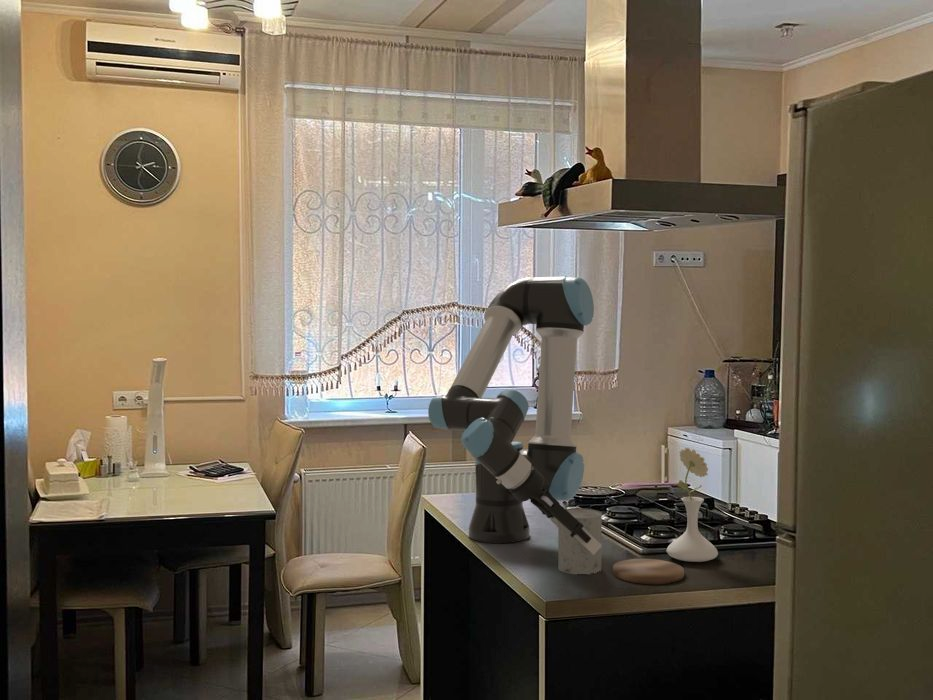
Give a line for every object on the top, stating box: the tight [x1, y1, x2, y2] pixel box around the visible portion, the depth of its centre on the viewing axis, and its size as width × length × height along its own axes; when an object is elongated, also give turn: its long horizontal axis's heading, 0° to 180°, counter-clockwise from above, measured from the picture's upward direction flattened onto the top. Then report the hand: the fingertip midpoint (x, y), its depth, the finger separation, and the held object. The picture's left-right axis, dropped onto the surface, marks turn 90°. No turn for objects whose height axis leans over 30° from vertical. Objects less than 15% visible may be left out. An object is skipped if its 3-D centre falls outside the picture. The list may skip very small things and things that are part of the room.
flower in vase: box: [665, 447, 719, 563], centre depth 221 cm, size 13×11×25 cm
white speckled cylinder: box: [557, 507, 603, 575], centre depth 213 cm, size 10×10×12 cm
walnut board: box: [612, 558, 685, 585], centre depth 209 cm, size 15×15×1 cm
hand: (585, 542), depth 213 cm, fingers open, 13 cm apart
